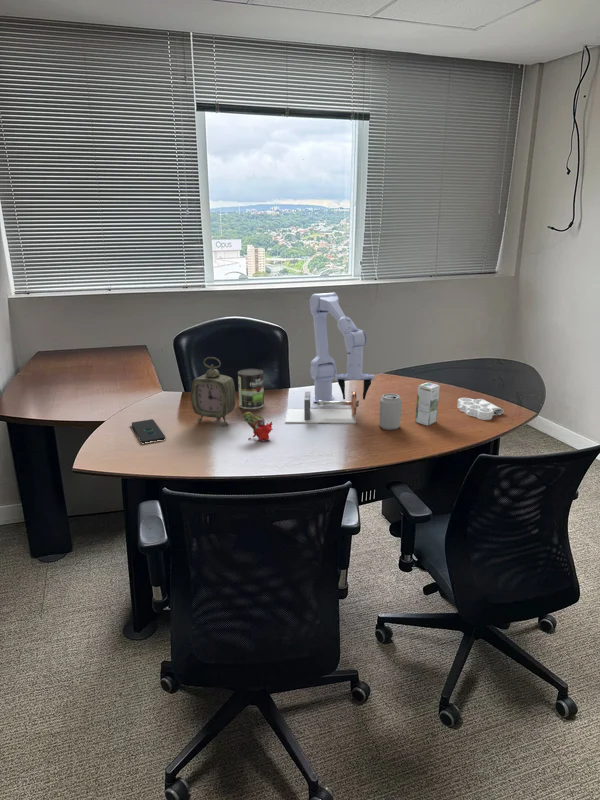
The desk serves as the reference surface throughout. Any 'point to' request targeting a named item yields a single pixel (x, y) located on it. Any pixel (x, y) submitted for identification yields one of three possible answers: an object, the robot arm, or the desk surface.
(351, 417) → the base board
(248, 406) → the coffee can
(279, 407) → the desk surface
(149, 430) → the black flat block
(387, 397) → the can
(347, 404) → the bolt with copper washer
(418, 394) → the syrup box
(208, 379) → the tabletop clock
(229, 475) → the desk surface
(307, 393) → the square hole plate
